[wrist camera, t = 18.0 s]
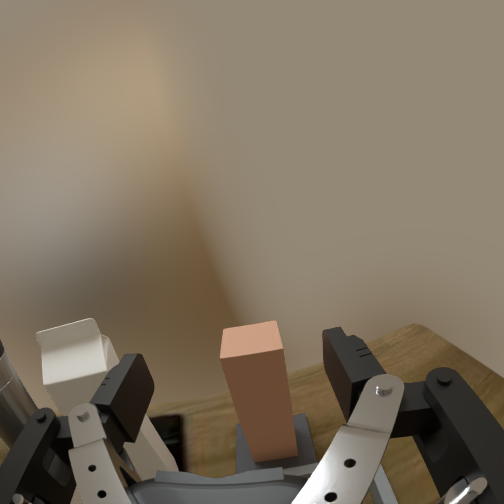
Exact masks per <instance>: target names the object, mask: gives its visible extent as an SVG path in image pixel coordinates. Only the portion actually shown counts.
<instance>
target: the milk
mask: <svg viewBox="0 0 504 504" xmlns="http://www.w3.org/2000/svg"><path fill="white" fill-rule="evenodd" d="M36 339H37V341H38V343H39V345H40V348H41V351H42V373H43V384H44V386H45V388H46V390H47V392H48V393H49V395H50V396H51V398H52V399H53V401H54V403H55V404H56V406H57V407H58V409H59V410H60V412H61V413H62V415H63V416H69V413H70V412H71V410H72V409H73V408H75V407H76V406H78V405H80V404H85V403H89V402H90V401H91V399H92V397H93V396H94V394H95V392H96V391H97V389H98V388H99V386H100V385H101V383H102V381H103V380H104V379H105V376H106V375H107V373H108V372H109V370H111V369H112V368H113V367H114V366H115V365H117V364H119V360H118V358H117V355H116V353H115V351H114V348H113V346H112V344H111V341H110V339H109V337H106V336H104V335H102V334H100V331H99V329H98V326H97V324H96V322H95V320H94V319H92V318H88V319H85V320H81V321H77V322H74V323H70V324H66V325H63V326H59V327H55V328H52V329H48V330H44V331H40V332H37V333H36ZM123 447H124V448H125V449H126V451H127V453H128V455H129V457H130V459H131V461H132V463H133V465H134V467H135V469H136V471H137V473H138V475H139V476H140V478H141V480H142V481H143V480H146V479H151V478H155V476H156V472H157V470H161V471H174V472H179V470H178V467H177V464H176V462H175V459H174V457H173V456H172V455H171V453H170V452H169V450H168V449H167V447H166V446H165V444H164V443H163V441H162V439H161V438H160V436H159V435H158V433H157V432H156V430H155V428H154V427H153V425H152V423H151V422H150V420H149V418H148V416H147V415H146V414H145V417H144V419H143V422H142V425H141V428H140V430H139V433H138V436H137V439H136V442H135V443H129V442H124V445H123Z"/></svg>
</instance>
